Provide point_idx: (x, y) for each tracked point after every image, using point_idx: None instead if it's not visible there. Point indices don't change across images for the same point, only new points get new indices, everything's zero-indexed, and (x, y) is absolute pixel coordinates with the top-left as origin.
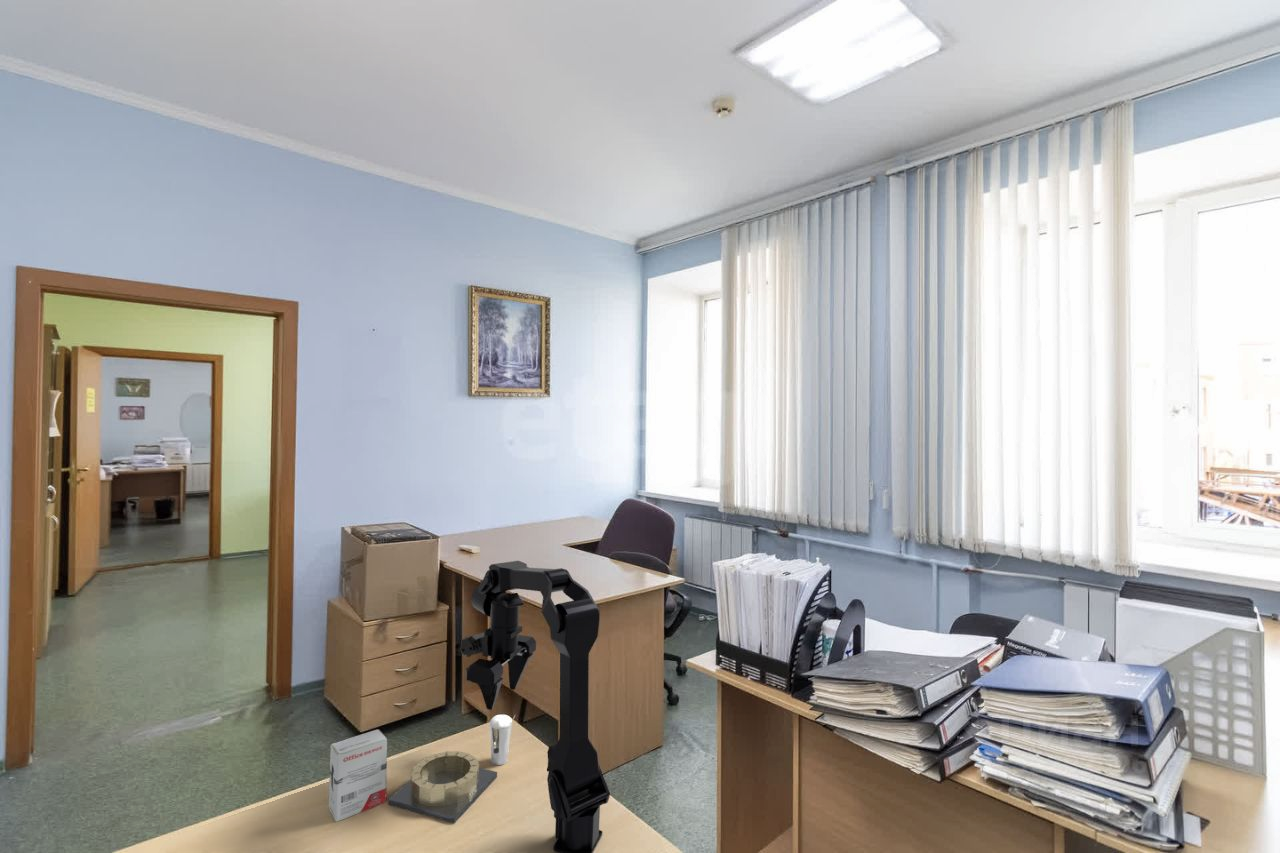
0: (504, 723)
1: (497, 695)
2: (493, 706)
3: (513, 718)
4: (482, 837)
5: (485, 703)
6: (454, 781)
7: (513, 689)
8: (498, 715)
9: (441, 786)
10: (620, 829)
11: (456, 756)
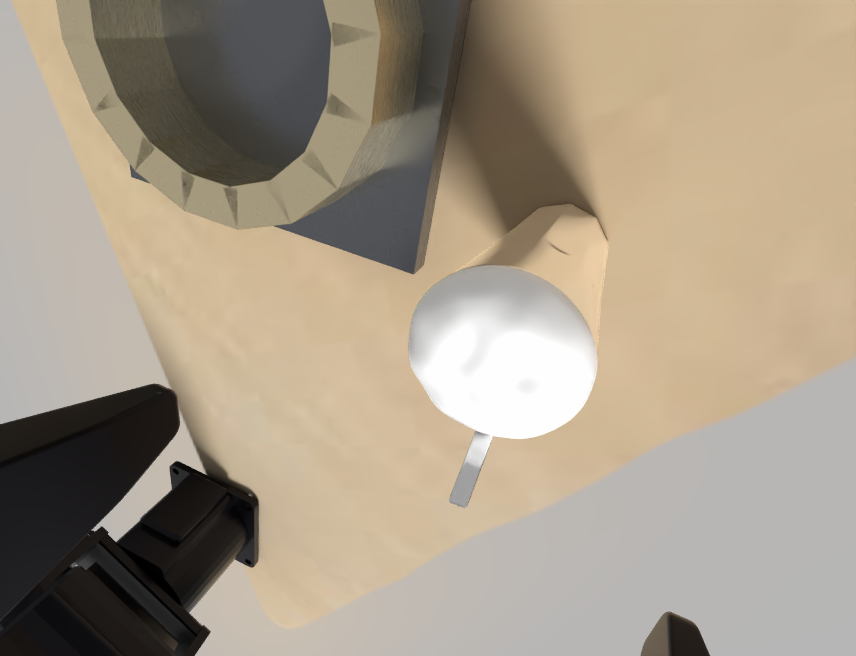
0: (434, 399)
1: (33, 586)
2: (151, 456)
3: (461, 474)
4: (142, 283)
5: (82, 404)
6: (300, 75)
7: (646, 640)
8: (523, 351)
9: (97, 87)
10: (287, 597)
11: (334, 40)
